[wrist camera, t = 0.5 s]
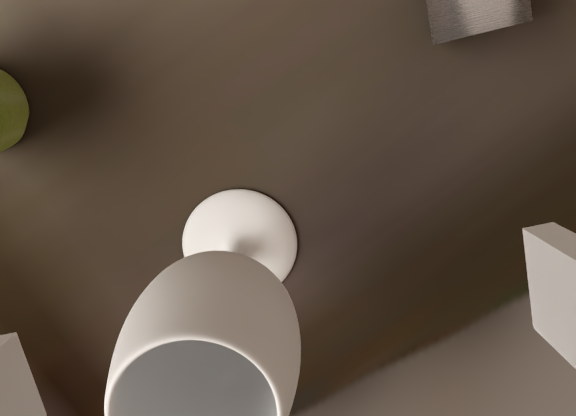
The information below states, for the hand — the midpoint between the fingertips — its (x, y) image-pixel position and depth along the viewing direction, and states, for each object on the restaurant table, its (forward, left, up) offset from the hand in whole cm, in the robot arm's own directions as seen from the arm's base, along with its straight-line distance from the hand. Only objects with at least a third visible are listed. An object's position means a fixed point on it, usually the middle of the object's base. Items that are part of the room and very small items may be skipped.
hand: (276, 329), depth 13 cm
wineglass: (+5, -4, -26) cm, 26 cm away
